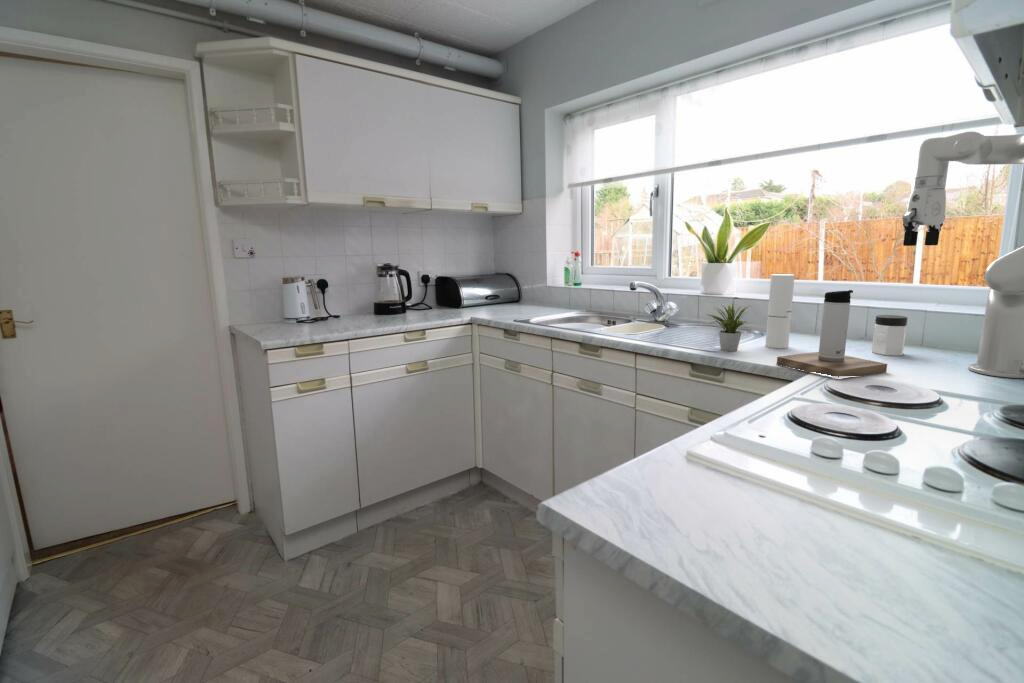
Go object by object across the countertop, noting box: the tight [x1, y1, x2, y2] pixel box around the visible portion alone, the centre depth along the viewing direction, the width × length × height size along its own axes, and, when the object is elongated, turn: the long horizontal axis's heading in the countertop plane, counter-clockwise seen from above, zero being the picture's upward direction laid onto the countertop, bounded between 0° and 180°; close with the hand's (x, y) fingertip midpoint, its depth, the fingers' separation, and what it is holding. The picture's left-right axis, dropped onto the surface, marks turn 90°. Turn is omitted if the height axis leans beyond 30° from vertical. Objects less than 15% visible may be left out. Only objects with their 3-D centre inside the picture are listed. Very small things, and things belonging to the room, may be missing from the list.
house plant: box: [706, 303, 752, 352], centre depth 170 cm, size 14×14×16 cm
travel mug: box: [818, 289, 854, 362], centre depth 141 cm, size 6×7×20 cm
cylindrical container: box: [764, 273, 796, 349], centre depth 173 cm, size 7×7×25 cm
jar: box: [871, 314, 909, 356], centre depth 161 cm, size 9×8×12 cm
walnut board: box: [776, 351, 888, 377], centre depth 143 cm, size 19×19×2 cm
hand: (920, 245), depth 146 cm, fingers open, 9 cm apart
